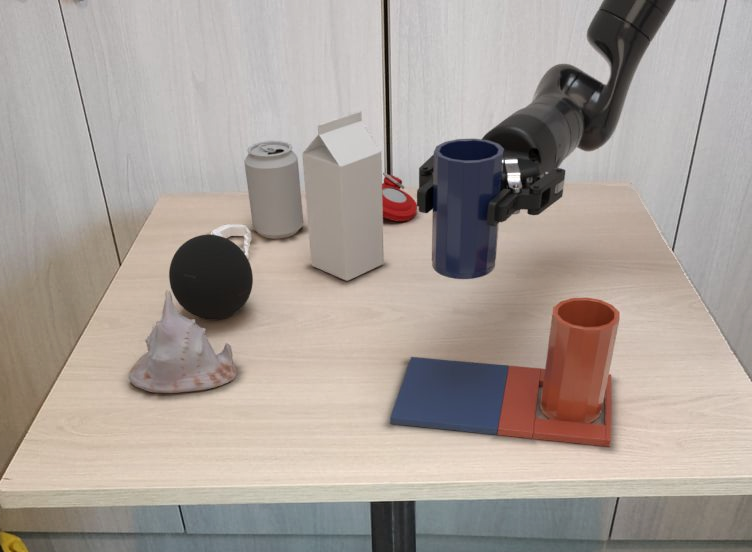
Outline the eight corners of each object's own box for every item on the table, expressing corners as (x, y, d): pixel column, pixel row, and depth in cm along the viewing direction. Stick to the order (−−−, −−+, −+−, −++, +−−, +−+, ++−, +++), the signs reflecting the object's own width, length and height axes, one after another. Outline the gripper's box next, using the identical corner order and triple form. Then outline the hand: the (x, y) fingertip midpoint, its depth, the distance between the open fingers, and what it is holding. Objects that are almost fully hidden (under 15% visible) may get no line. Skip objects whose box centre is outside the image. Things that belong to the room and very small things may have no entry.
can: (284, 244, 117) (275, 158, 109) (243, 234, 120) (231, 150, 112) (313, 225, 121) (307, 142, 113) (273, 216, 124) (264, 134, 116)
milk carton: (384, 264, 111) (381, 116, 98) (346, 282, 107) (338, 131, 95) (348, 250, 115) (341, 105, 102) (311, 266, 111) (298, 119, 98)
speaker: (181, 340, 97) (165, 262, 91) (174, 303, 105) (158, 227, 98) (263, 327, 99) (253, 249, 92) (250, 291, 106) (240, 216, 100)
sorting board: (609, 380, 88) (611, 374, 88) (609, 446, 79) (611, 440, 79) (411, 362, 92) (411, 356, 92) (390, 424, 83) (390, 417, 83)
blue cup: (498, 253, 82) (507, 139, 75) (491, 282, 77) (499, 164, 70) (437, 249, 83) (440, 137, 76) (427, 277, 79) (429, 160, 71)
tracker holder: (429, 212, 121) (368, 206, 117) (419, 237, 124) (359, 233, 120) (404, 166, 127) (345, 160, 124) (395, 192, 131) (338, 186, 127)
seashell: (146, 347, 96) (128, 274, 90) (245, 348, 96) (234, 273, 89) (122, 395, 89) (100, 318, 83) (229, 396, 88) (216, 319, 82)
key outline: (268, 263, 112) (266, 251, 111) (233, 270, 111) (231, 258, 110) (241, 228, 121) (240, 217, 120) (209, 235, 120) (207, 223, 119)
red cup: (601, 394, 86) (619, 299, 79) (600, 429, 82) (619, 332, 74) (542, 388, 87) (554, 294, 80) (538, 422, 83) (551, 326, 75)
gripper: (462, 105, 85) (386, 155, 75) (596, 122, 80) (534, 179, 69) (459, 177, 90) (388, 234, 80) (585, 198, 85) (525, 262, 74)
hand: (456, 208), depth 74 cm, fingers closed on blue cup, 6 cm apart
